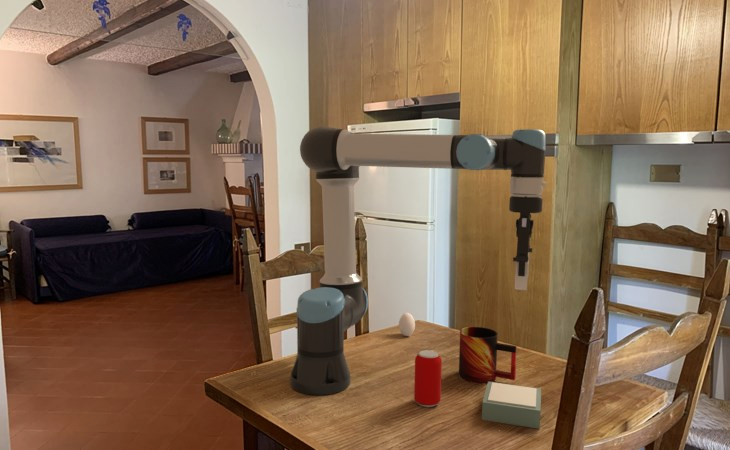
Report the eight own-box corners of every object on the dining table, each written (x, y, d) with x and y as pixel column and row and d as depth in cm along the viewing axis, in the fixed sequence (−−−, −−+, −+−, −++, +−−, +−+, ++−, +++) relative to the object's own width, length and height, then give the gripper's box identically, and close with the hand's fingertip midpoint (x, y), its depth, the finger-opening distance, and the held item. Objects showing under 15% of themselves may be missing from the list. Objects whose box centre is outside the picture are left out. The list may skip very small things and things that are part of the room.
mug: (515, 384, 135) (517, 339, 133) (461, 383, 135) (462, 337, 134) (507, 370, 144) (509, 327, 143) (456, 369, 145) (457, 326, 144)
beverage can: (412, 407, 121) (413, 356, 120) (416, 396, 127) (417, 347, 126) (439, 410, 120) (440, 359, 119) (441, 399, 126) (443, 350, 125)
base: (481, 419, 116) (482, 400, 115) (487, 397, 127) (488, 380, 126) (539, 428, 112) (540, 409, 111) (540, 405, 123) (541, 387, 123)
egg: (418, 336, 172) (418, 313, 172) (404, 339, 170) (404, 316, 169) (408, 332, 177) (409, 310, 176) (395, 334, 174) (395, 312, 173)
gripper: (543, 198, 113) (537, 296, 115) (542, 193, 136) (538, 275, 139) (506, 197, 115) (502, 293, 117) (512, 193, 139) (508, 272, 141)
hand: (521, 283), depth 128 cm, fingers open, 13 cm apart
